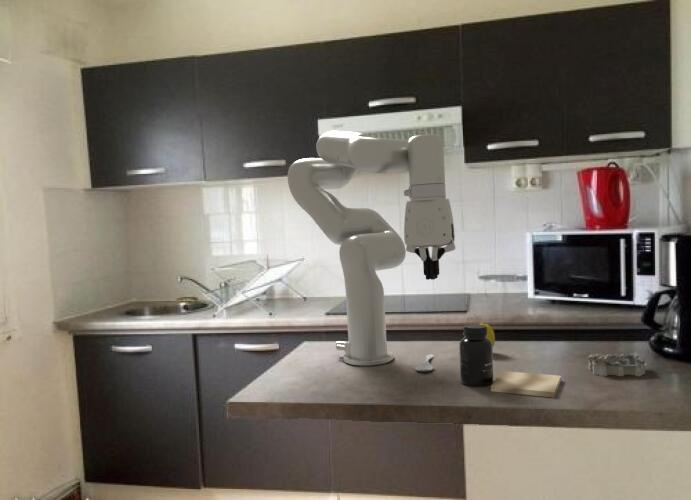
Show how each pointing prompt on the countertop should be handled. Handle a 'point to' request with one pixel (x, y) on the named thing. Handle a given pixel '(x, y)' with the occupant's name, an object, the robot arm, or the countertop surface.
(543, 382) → the cutting board
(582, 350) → the countertop surface
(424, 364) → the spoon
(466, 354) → the supplement bottle
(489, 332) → the lemon
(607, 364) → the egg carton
